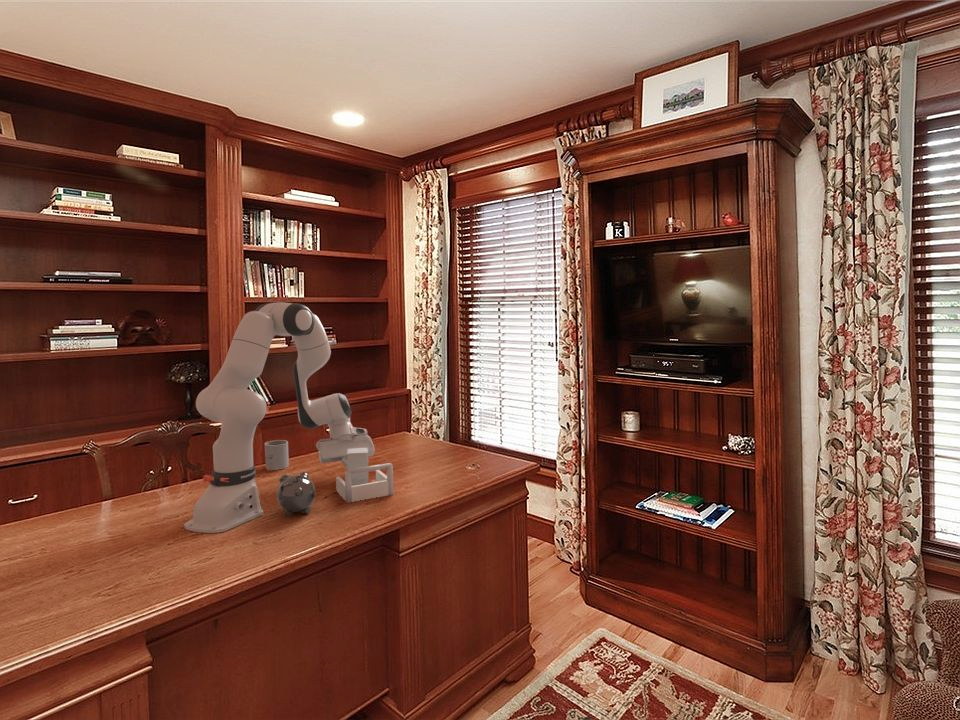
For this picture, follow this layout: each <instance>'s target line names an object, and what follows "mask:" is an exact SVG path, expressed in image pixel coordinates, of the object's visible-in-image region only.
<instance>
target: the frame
mask: <svg viewBox="0 0 960 720" xmlns="http://www.w3.org/2000/svg"><path fill="white" fill-rule="evenodd" d="M393 468H394V467H393V463H392V462H389V463H388V462H387V463H383V464H374V465H368V467H361V468H355V469H349V470H347V469H346V471H344V479H343V478H342V477H341V476H340V475H339V476H335V482H336V483H335V487H336V488H335V489H336V492H337V493H338V494H339V496H340V497H341V496H342V497H343V498H342V497H341V498H342V499H343V500H344V501H345V503H346V504H352V503H355V501H356V502H360V500H361V501H365V499H366V500H370V499H371V498H372V499H377V498H381V497H388V496H393V495H394V469H393ZM381 470H386V474H385V473H384V472H382V471H381ZM373 471H375V481H373V482H372V481H371V482H369V483H366V484H360V485H355V486H352V485H351V474H355V473H361V472H368V473H369V472H373ZM376 497H377V498H376ZM372 499H371V500H372ZM351 502H352V503H351Z"/></svg>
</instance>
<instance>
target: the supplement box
mask: <svg viewBox="0 0 960 720" xmlns="http://www.w3.org/2000/svg"><path fill="white" fill-rule="evenodd" d="M346 462H347V469H346V471H347V470H349V469H355V468H361V467H368V466H369V457H368V448H354V449H347V460H346ZM366 483H370V482H369V471H368V472H361V473H355V474H351V485H352V486H355V485H360V484H366Z"/></svg>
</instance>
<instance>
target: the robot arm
mask: <svg viewBox="0 0 960 720" xmlns="http://www.w3.org/2000/svg"><path fill="white" fill-rule="evenodd" d="M275 336H280V337H292V338H293V341H294V344H295V347H296V350H297V351H296V352H297V359H296V361H295V362H294V363H293V364H292V366H293V367H292V374H293V380H294V382H293V383H294V388H295V395H296V402H297V417H298V423H300V425H301V426H302V427H303V428H305V429H309V430H313V429H315V428H318V427H320V426H323V425H325V424H327V426H328V427H329V432H328V433H329V437H328V438H320V439H318V441H316V443H315V446H316V449H317V451H318V460H319V462H320V463H321V464H330V463H336V462H341V464H342V465H343V467H345V469H346V470H347V449H354V448H368V458H369V457H373V456H374V454H375V451H376V448H375V445H374V443H373V440H372V437H370V436H369V435H368V430H367V429H366V428H361V427H356V426H355V427H354V426H353V424H352V422H351V417H352V416H351V415H352V409H351V406H350V401H349V399H348V397H347V396H346V395H344V394H342V393H340V392H338V393H332V394H330V395H329V394H328V395H326V396H324V397H319V398H316V399H313V400H310V399H309V395H308V389H307V388H308V387H307V381H308V380H309V378H310V377H311V376H312V375H313V374H315V373H316V372H317V371H319V370H320V369H321V368H323V367H324V366H325V365H326V364H327V363H328V362H329V360H330V358H331V355H332V350H331V345H330V342H329V338H328V336H327V333H326V330H325V328H324V325H323V324H322V322H321V320H320V318H319V317H318V316H317V315H316V314H315V313H313V312H312V311H311V310H310V308H309V307H308V306H306V305H304V304H301V303H297V302H295V303H291V302H285V301H284V302H283V301H279V302H267V303H263V304H260V305H259V306H257V307H256V309H255V310H252V311H251V310H250V311H249V312H246V313H245V314H244V316H243V317H242V319H241V320H240V322H239V324H238V325H237V328H236V329H235V332H234V335H233V337H232V339H231V343H230V346H229V347H228V351H227V353H226V357H225V359H224V362H223V364H222V365H221V368H220V369H219V371H218V372H217V374H216V375H215V377H214V378H213V380H212V381H211V382H210V383H209V385H208V386H207V387H205V388H204V389H202V390H201V391H200V392H199V393H198V395H197V397H196V400H195V408H196V410H197V412H198V413H199V414H200V415H201V416H203V417H204V418H205V419H208V420H209V421H213V422H219V423H220V425H221V427H220V432H219V436H218V438H217V439H216V440H215V441H214V443H213V445H212V457H213V458H212V460H213V461H212V462H213V469H212V472H211V474H209V475H208V474H204V476H203V477H202V481H203V483H204V482H205V483H207V482H208V483H209V485H208V486H207V488H206V489H205V491H204V492H203V493H202V495H201V496H200V497H199V498H198V500H197V501H196V502H195V504H194V505H193V510H192V518H191V519H189V520H188V521H186V522H185V523H184V524H183V528H184V529H185V530H186V531H191V532H194V533H195V532H196V533H204V534H205V533H206V534H212V533H213V534H215V533H222V532H223V533H224V532H227V531H229V530H230V529H233V528H235V527H237V526H241V525H243V524H245V523H247V522H249V521H252V520H254V519H256V518H258V517H260V516H263V515H264V509H262V507H261V501H260V494H259V488H258V486H257V483H256V471H257V470H256V465H255V464H254V439H255V433H256V429H257V427H258V426H259V425H258V424H259V423H260V422H261V421H262V420H263V419H264V417H265V416H266V413H267V406H268V405H267V401H266V399H265V398H264V396H263V395H261V394H260V393H258V392H256V391H253V390H251V389H248V388H249V387H250V385H251V384H252V382H253V381H255V380H256V379H257V378H259V377H260V376H261V375H262V373H263V370H264V368H265V364H266V361H267V360H268V359H267V358H268V355H269V352H270V348H271V345H272V341H273V339H274V337H275Z"/></svg>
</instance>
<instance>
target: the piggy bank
mask: <svg viewBox="0 0 960 720" xmlns="http://www.w3.org/2000/svg"><path fill="white" fill-rule="evenodd" d="M309 476H310V475H309V473H307V472H306V471H301V472H300V474H292V475H288V474H282V475H280V477H279V481H278V482H279V483H280V484H279V486H278V488H277V490H276V499H277V502H278V504H279V505H280V507H281V508H282V509H283V510H284V511H285V512H284V513H285V514H284V515H285V517H287V518H291V517H292V516H293V514H294V513H301V512H303V514H305V515H308V514H310V513H311V505H312V504H313V503H314V500H315V497H316V487H315V485H314V483H313V482H312V480H311V479H310V477H309Z"/></svg>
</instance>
